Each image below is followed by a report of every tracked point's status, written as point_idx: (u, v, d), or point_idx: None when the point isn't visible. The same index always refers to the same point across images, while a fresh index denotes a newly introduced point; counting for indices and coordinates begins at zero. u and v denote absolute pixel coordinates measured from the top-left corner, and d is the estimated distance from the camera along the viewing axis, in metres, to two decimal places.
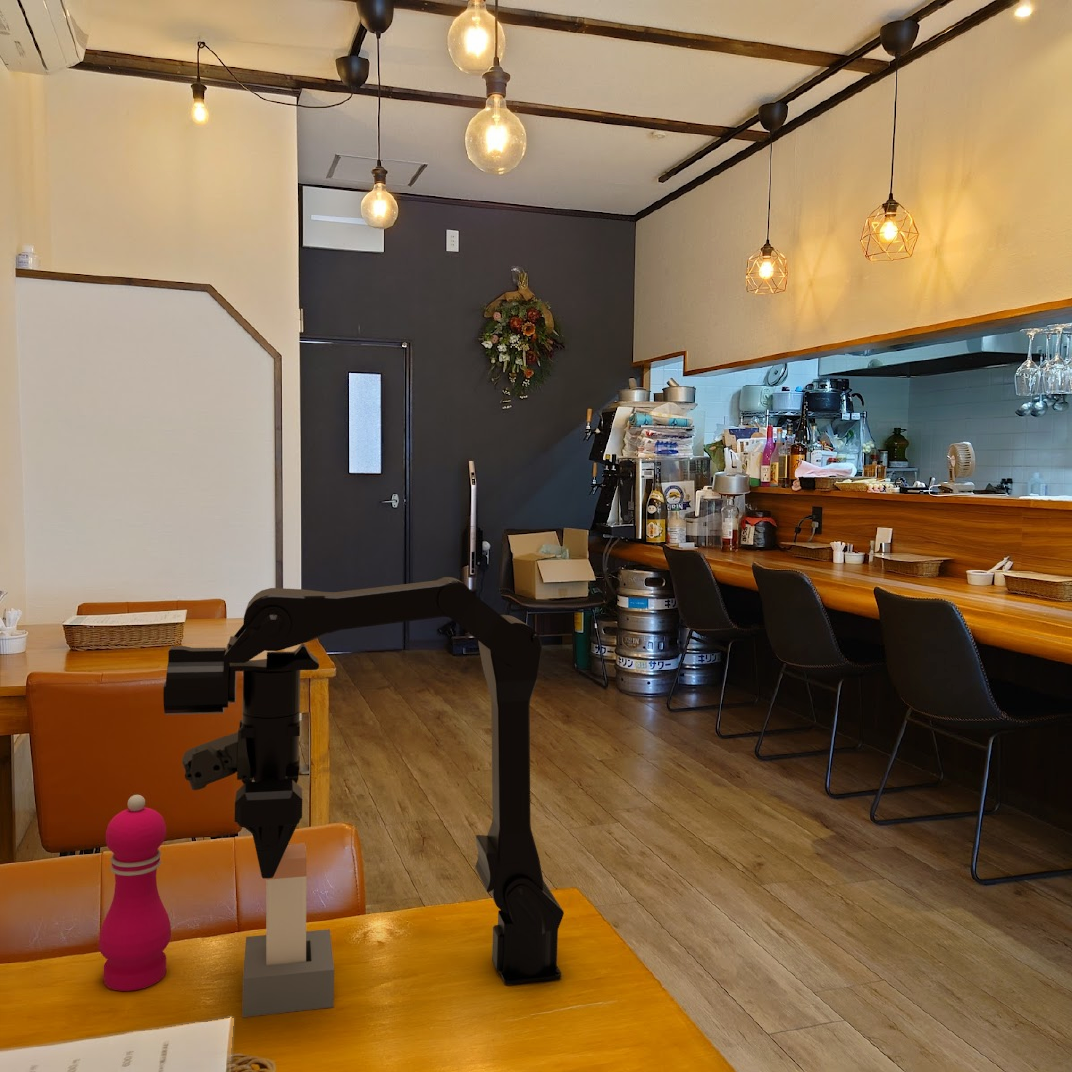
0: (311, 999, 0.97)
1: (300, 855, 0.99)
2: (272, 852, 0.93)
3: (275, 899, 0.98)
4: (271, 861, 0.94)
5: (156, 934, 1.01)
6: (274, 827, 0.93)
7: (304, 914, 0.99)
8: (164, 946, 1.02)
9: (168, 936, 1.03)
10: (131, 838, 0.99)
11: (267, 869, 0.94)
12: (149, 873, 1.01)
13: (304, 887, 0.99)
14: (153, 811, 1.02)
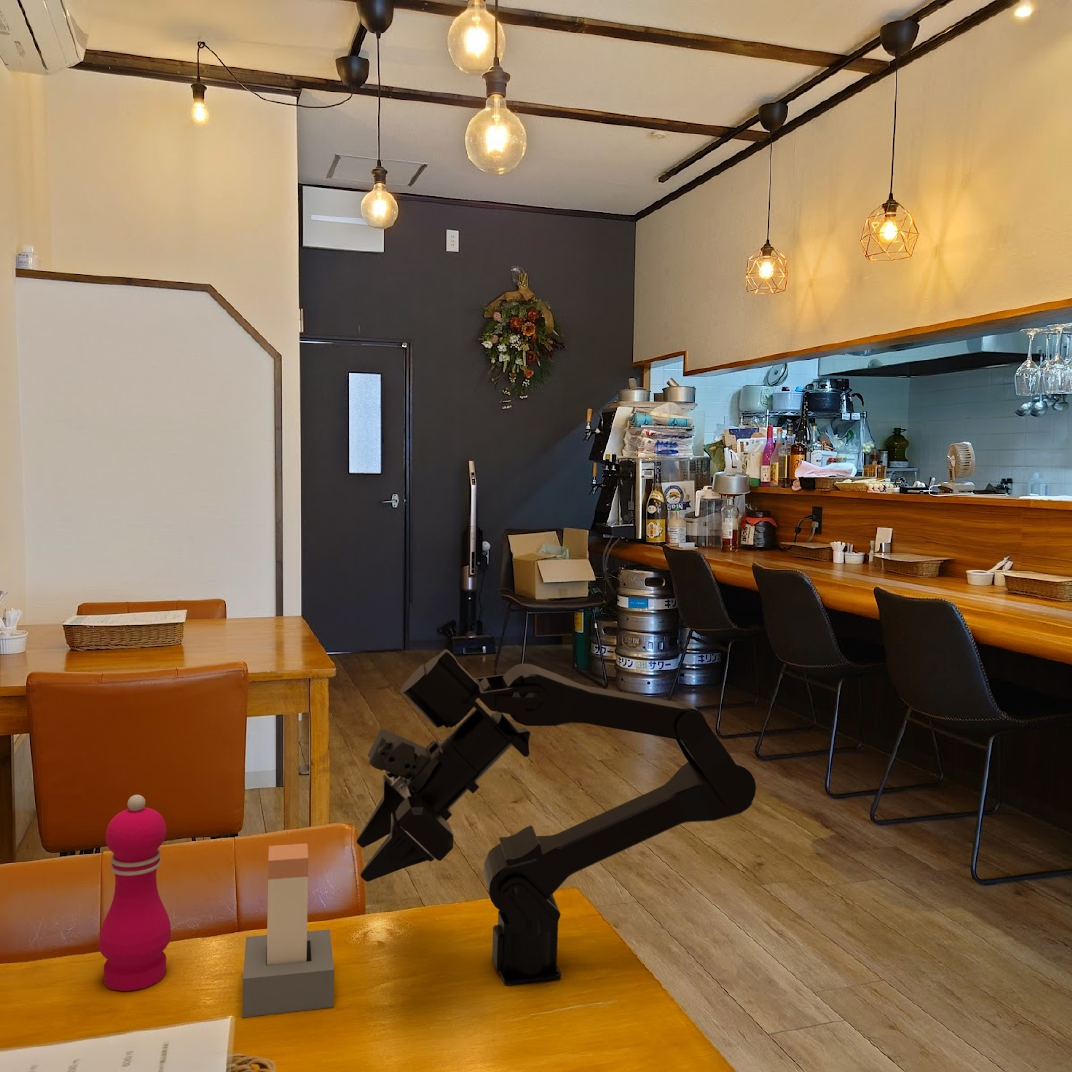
0: (311, 999, 0.97)
1: (302, 856, 0.99)
2: (387, 864, 0.97)
3: (276, 899, 0.98)
4: (379, 869, 0.98)
5: (156, 934, 1.01)
6: (406, 847, 0.98)
7: (305, 914, 0.99)
8: (164, 946, 1.02)
9: (169, 936, 1.03)
10: (131, 838, 0.99)
11: (370, 872, 0.98)
12: (149, 873, 1.01)
13: (305, 887, 0.99)
14: (153, 811, 1.02)
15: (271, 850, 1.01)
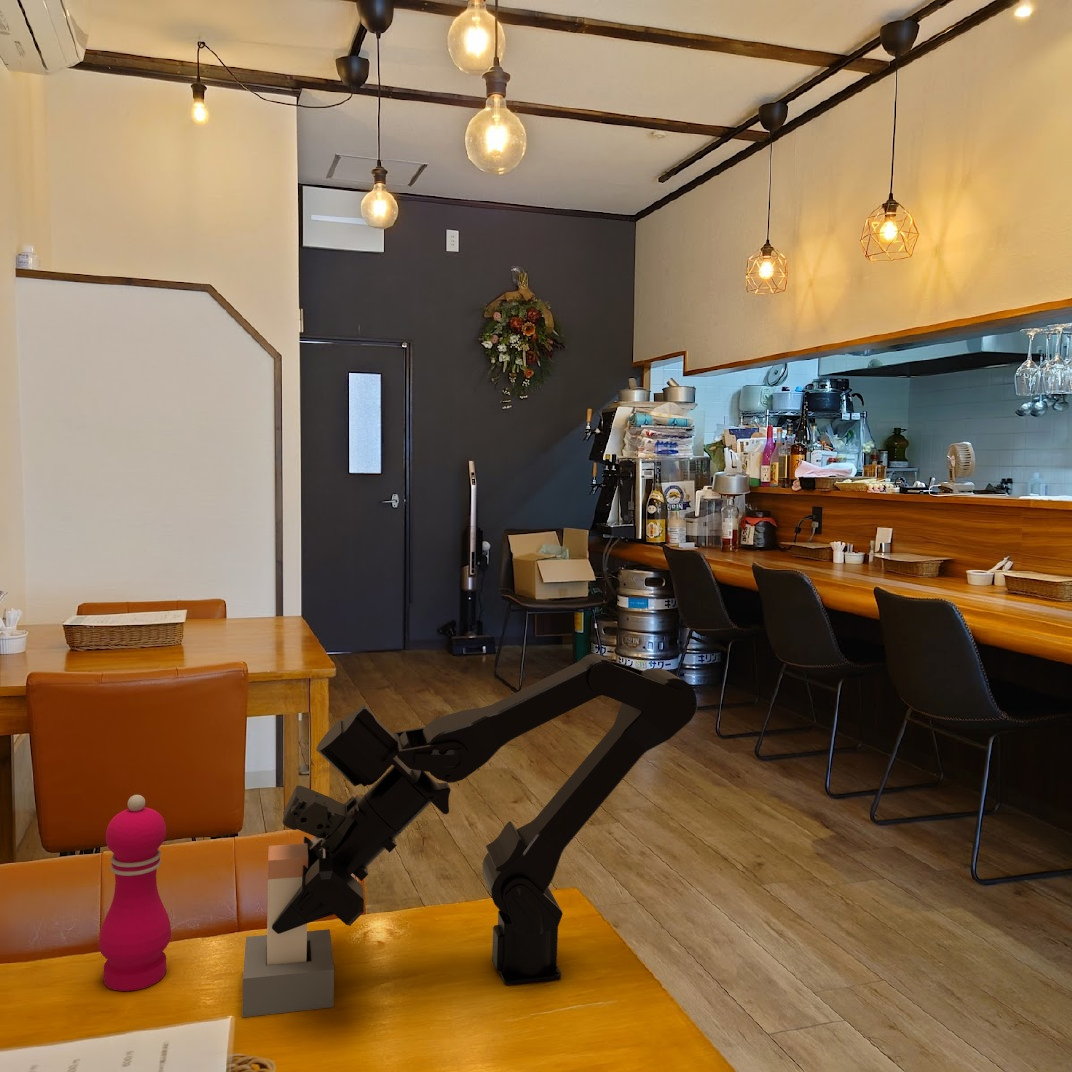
0: (311, 999, 0.97)
1: (302, 856, 0.99)
2: (298, 916, 0.98)
3: (276, 899, 0.98)
4: (290, 922, 0.98)
5: (156, 934, 1.01)
6: (317, 899, 0.98)
7: None
8: (164, 946, 1.02)
9: (169, 936, 1.03)
10: (131, 838, 0.99)
11: (281, 925, 0.98)
12: (149, 873, 1.01)
13: None
14: (153, 811, 1.02)
15: (271, 850, 1.01)
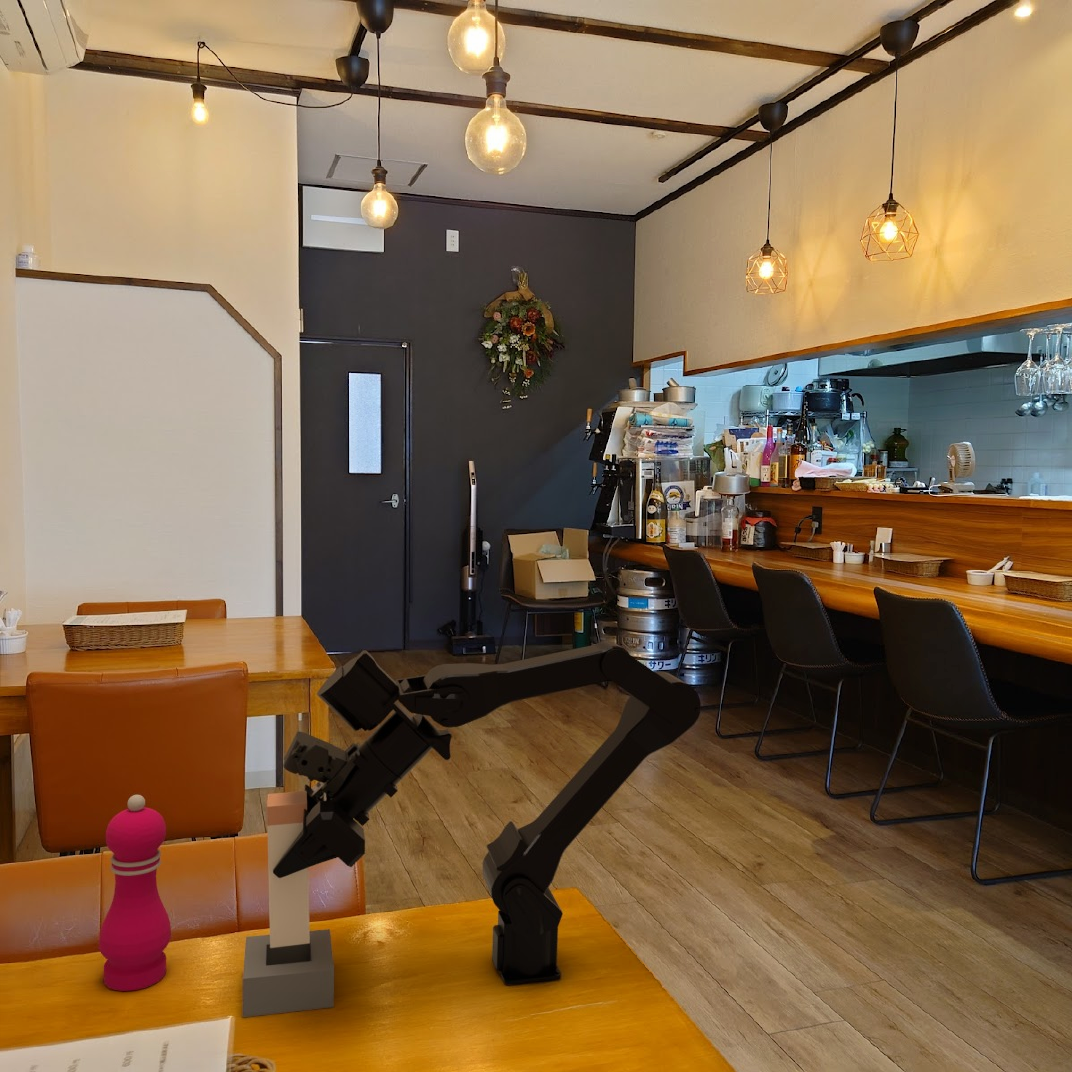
0: (311, 999, 0.97)
1: (301, 802, 0.99)
2: (299, 860, 0.97)
3: (276, 845, 0.98)
4: (291, 866, 0.98)
5: (156, 934, 1.01)
6: (318, 843, 0.98)
7: None
8: (164, 946, 1.02)
9: (168, 936, 1.03)
10: (131, 837, 0.99)
11: (282, 869, 0.98)
12: (149, 873, 1.01)
13: None
14: (153, 811, 1.02)
15: (270, 797, 1.00)
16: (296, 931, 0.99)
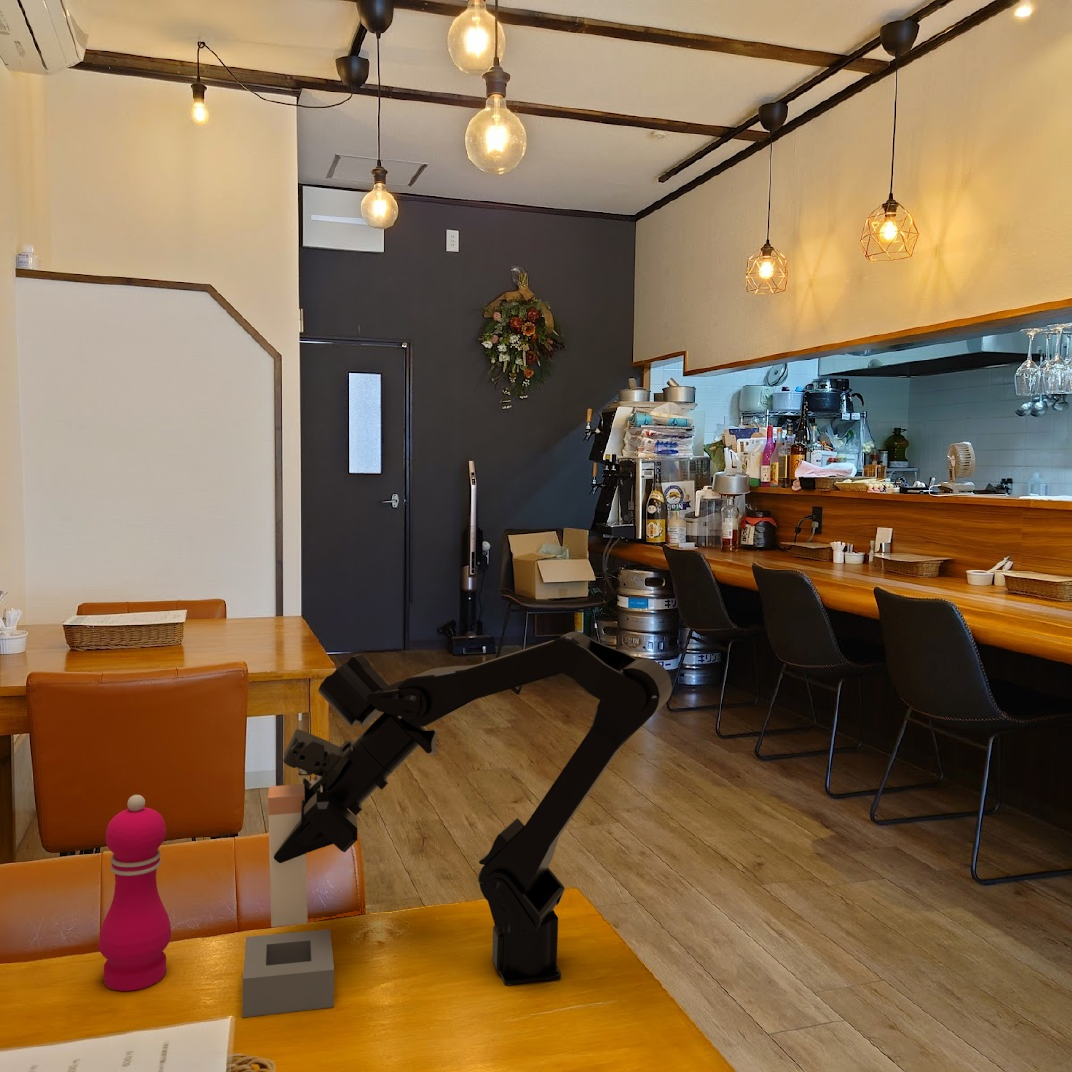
0: (311, 999, 0.97)
1: (299, 793, 1.08)
2: (298, 846, 1.07)
3: (277, 833, 1.07)
4: (291, 852, 1.07)
5: (156, 934, 1.01)
6: (315, 831, 1.07)
7: None
8: (164, 946, 1.02)
9: (168, 936, 1.03)
10: (130, 838, 0.99)
11: (282, 854, 1.07)
12: (149, 873, 1.01)
13: None
14: (153, 811, 1.02)
15: (271, 789, 1.10)
16: (295, 912, 1.08)
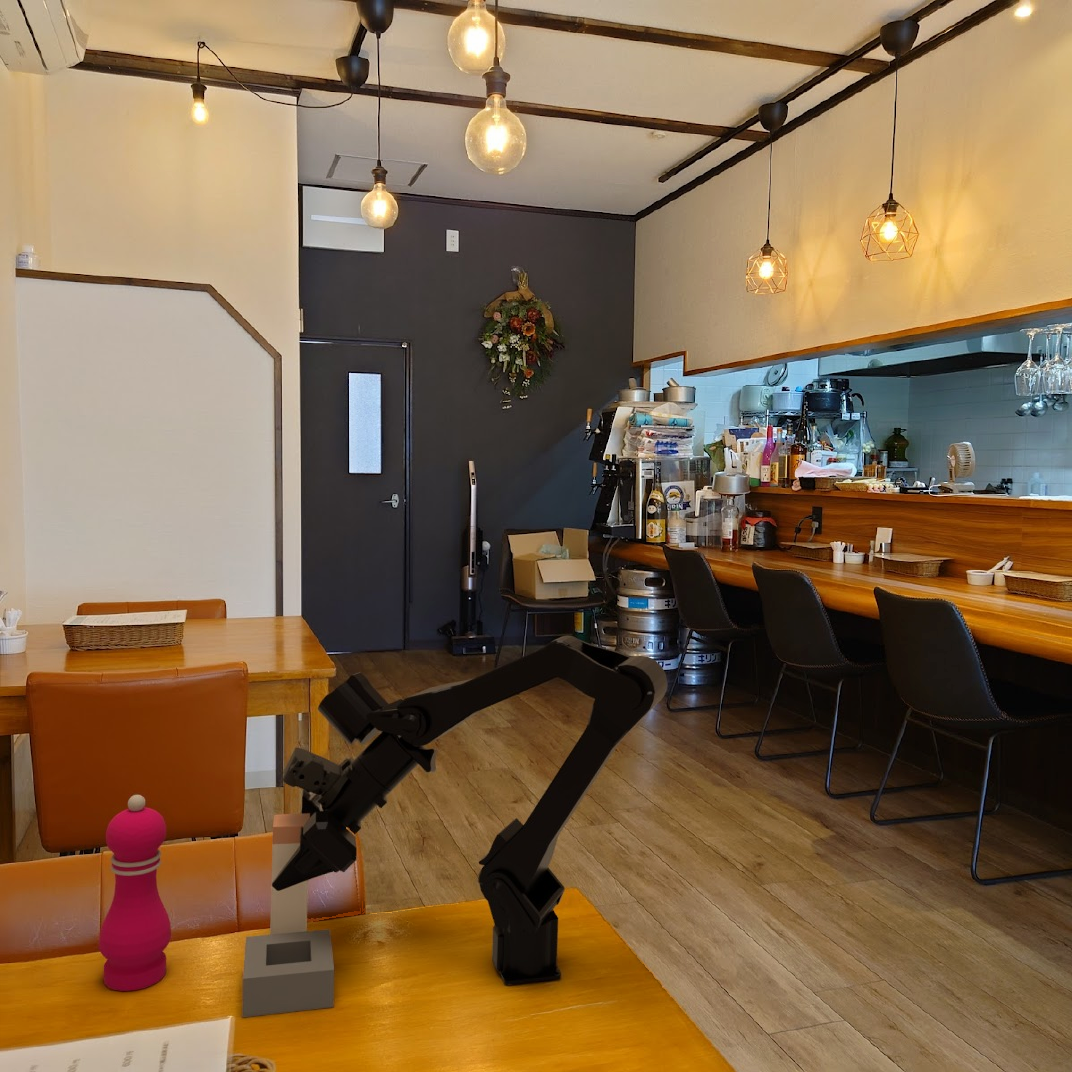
0: (311, 999, 0.97)
1: (304, 823, 1.09)
2: (296, 874, 1.05)
3: (280, 862, 1.08)
4: (289, 879, 1.05)
5: (156, 934, 1.01)
6: (314, 858, 1.05)
7: None
8: (164, 946, 1.02)
9: (169, 936, 1.03)
10: (131, 838, 0.99)
11: (281, 882, 1.05)
12: (149, 873, 1.01)
13: None
14: (153, 811, 1.02)
15: (276, 818, 1.10)
16: None
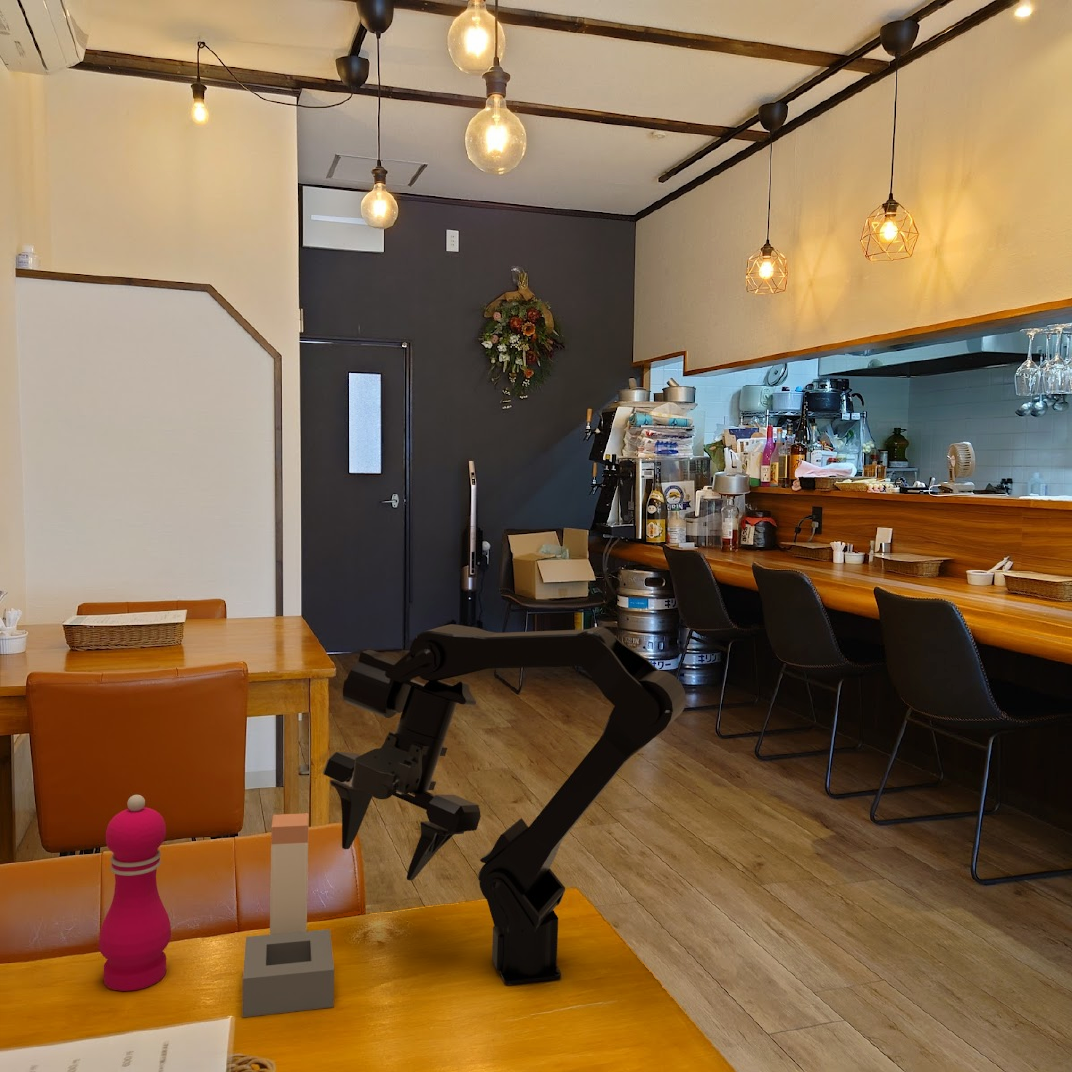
0: (311, 999, 0.97)
1: (302, 823, 1.08)
2: (427, 857, 1.06)
3: (279, 862, 1.08)
4: (422, 865, 1.06)
5: (156, 934, 1.01)
6: (436, 835, 1.07)
7: (305, 877, 1.08)
8: (164, 946, 1.02)
9: (168, 936, 1.03)
10: (131, 838, 0.99)
11: (416, 872, 1.06)
12: (149, 873, 1.01)
13: (305, 852, 1.08)
14: (153, 811, 1.02)
15: (275, 818, 1.10)
16: None
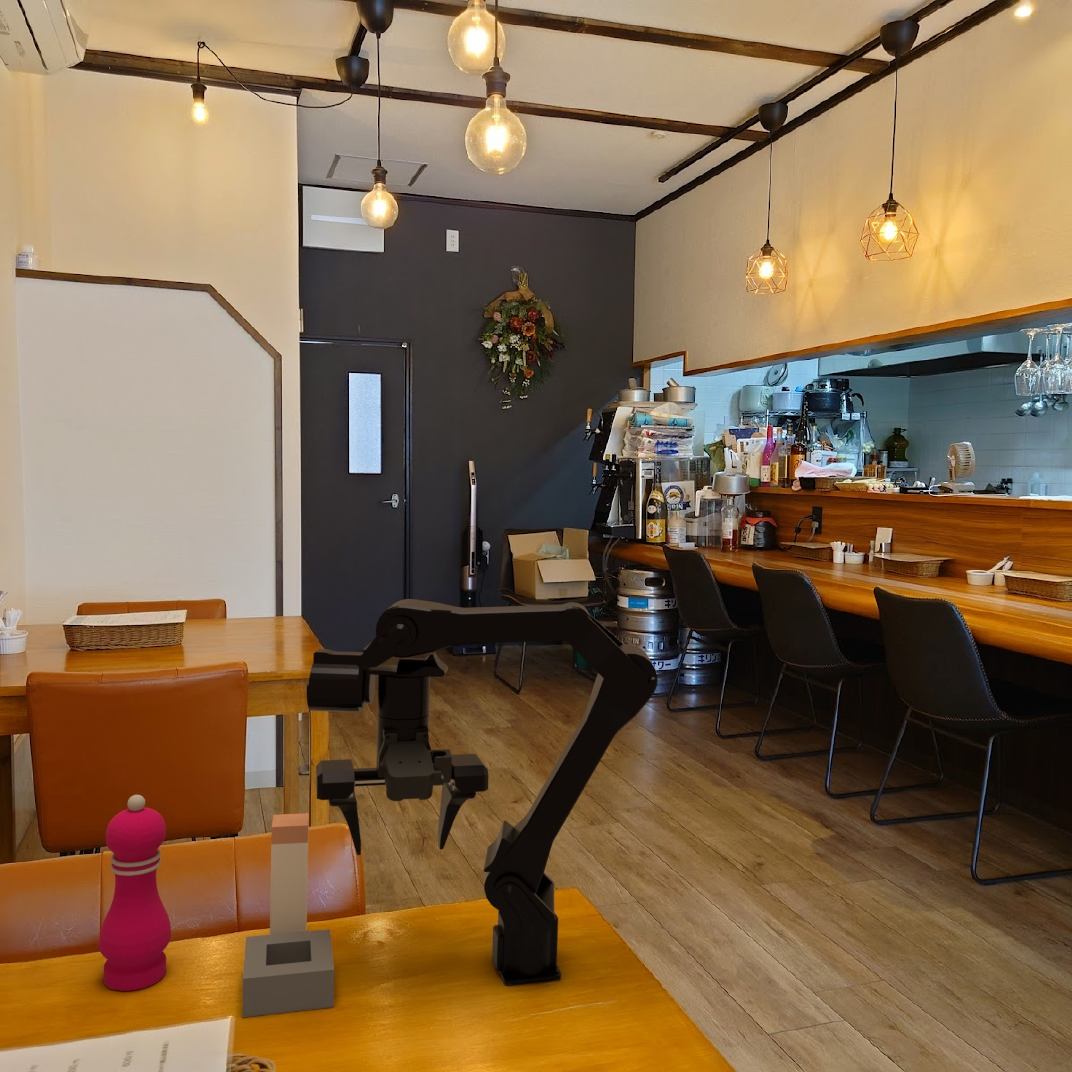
0: (311, 999, 0.97)
1: (302, 823, 1.09)
2: None
3: (279, 862, 1.08)
4: None
5: (156, 934, 1.01)
6: None
7: (305, 877, 1.08)
8: (164, 946, 1.02)
9: (168, 936, 1.03)
10: (131, 837, 0.99)
11: None
12: (149, 873, 1.01)
13: (305, 852, 1.08)
14: (153, 811, 1.02)
15: (275, 818, 1.10)
16: None
